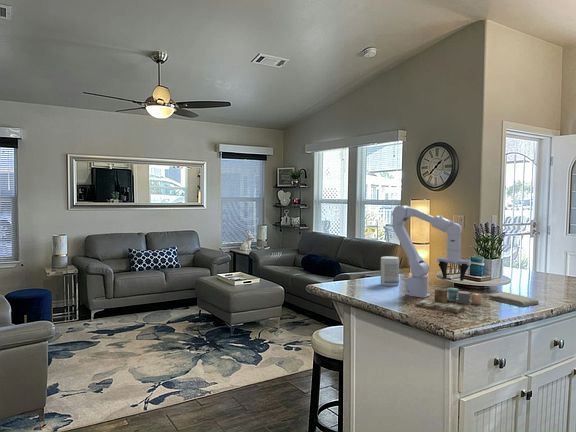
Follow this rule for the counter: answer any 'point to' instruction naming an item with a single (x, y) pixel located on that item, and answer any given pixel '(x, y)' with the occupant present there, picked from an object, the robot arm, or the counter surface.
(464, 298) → the charcoal cube
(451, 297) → the teal spool
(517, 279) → the counter surface
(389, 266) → the supplement tub
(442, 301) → the walnut block
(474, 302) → the peach round blob
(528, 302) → the washcloth
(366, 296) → the counter surface
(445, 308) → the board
